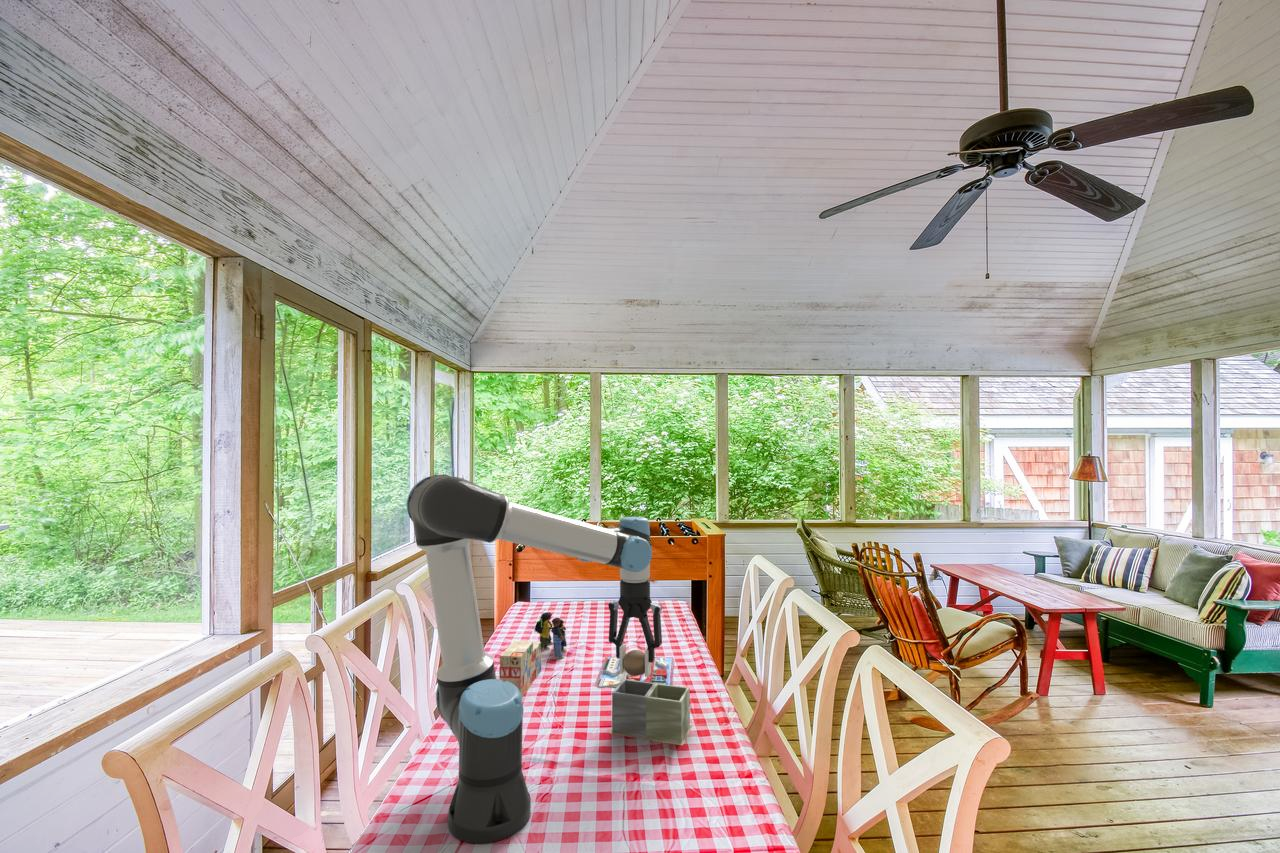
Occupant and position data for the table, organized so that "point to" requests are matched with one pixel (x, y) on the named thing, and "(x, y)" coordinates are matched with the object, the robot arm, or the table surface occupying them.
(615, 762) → the table surface
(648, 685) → the divided open bin
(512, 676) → the stack of blocks
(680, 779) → the table surface
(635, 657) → the walnut ball
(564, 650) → the doll family
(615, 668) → the puzzle board
